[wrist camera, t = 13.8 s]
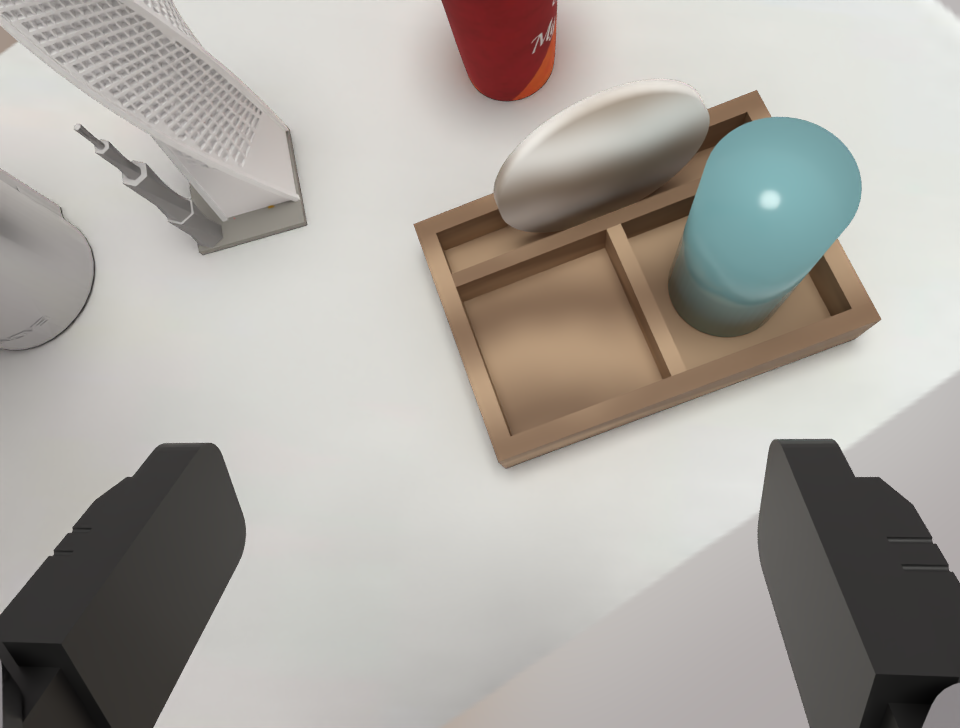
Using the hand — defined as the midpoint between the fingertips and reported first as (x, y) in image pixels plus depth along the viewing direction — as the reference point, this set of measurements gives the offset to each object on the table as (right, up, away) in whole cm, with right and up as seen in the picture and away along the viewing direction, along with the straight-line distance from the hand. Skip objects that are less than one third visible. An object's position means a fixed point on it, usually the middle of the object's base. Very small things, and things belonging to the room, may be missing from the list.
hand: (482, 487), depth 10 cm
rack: (+8, +6, +30) cm, 32 cm away
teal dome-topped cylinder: (+13, +6, +28) cm, 32 cm away
